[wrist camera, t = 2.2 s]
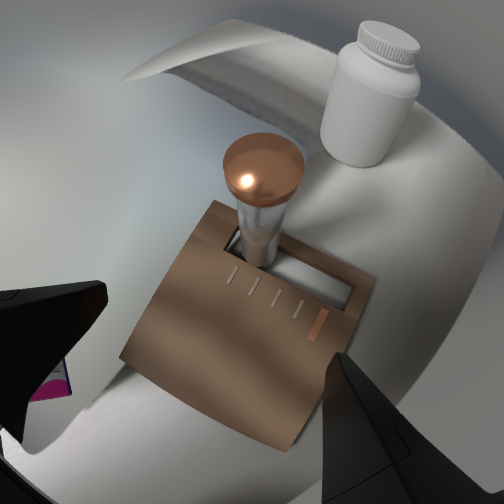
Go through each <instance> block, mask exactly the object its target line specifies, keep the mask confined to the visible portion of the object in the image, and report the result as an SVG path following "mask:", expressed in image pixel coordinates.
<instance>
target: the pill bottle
mask: <svg viewBox="0 0 504 504" xmlns="http://www.w3.org/2000/svg"><path fill="white" fill-rule="evenodd" d="M419 53H420V45H419V44H418V42H417V41H416V40H415V39H414V38H413V37H411V36H410V35H408V34H407V33H405V32H404V31H402V30H400V29H398V28H396V27H393V26H391V25H388V24H385V23H382V22H377V21H364V22H362V23H361V24H360V27H359V31H358V38H357V42H353V43H349V44H347V45H346V46H344V47H343V48H342V49H341V51H340V53H339V54H338V56H337V60H336V65H335V69H334V74H333V78H332V82H331V87H330V91H329V95H328V99H327V104H326V108H325V112H324V116H323V120H322V124H321V130H320V137H321V141H322V143H323V145H324V147H325V149H326V150H327V151H328V152H329V154H330V155H332V156H333V157H334V158H335V159H337V160H338V161H340V162H342V163H344V164H346V165H349V166H352V167H358V168H366V167H371V166H374V165H376V164H377V163H379V162H380V161H381V160H382V158H383V157H384V156H385V154H386V152H387V151H388V149H389V147H390V145H391V144H392V142H393V140H394V138H395V137H396V135H397V133H398V131H399V129H400V128H401V126H402V124H403V122H404V120H405V118H406V116H407V115H408V113H409V111H410V109H411V107H412V105H413V103H414V101H415V99H416V97H417V95H418V93H419V91H420V77H419V74H418V73H417V71H416V69H415V68H414V66H415V62H416V60H417V58H418V55H419Z"/></svg>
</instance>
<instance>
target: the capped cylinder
mask: <svg viewBox="0 0 504 504" xmlns="http://www.w3.org/2000/svg"><path fill="white" fill-rule="evenodd" d="M223 169H224V175H225V180H226V184H227V187H228V189H229V191H230V192H231V193H232V195H233V196H235V197H236V201H237V209H238V218H239V226H240V235H241V243H242V251H243V254H242V258H243V259H244V260H246V261H247V262H248V263H249V264H250V265H252V266H255V267H260V268H262V269H264V270H266V271H267V269H268V267H269V266H270V264H271V263H272V262H273V260H274V259H275V257H276V253H277V249H278V244H279V240H280V236H281V231H282V227H283V222H284V218H285V213H286V208H287V204H288V200H290V199H291V198H292V197H293V196H294V195H295V194H296V192H297V191H298V189H299V187H300V183H301V180H302V176H303V172H304V159H303V156H302V154H301V152H300V151H299V149H298V148H297V147H296V146H295V145H294V144H293V143H292V142H291V141H289V140H287V139H286V138H284V137H282V136H279V135H276V134H272V133H254V134H250V135H246V136H244V137H242V138H240V139H238V140H237V141H235V142H234V143H233V144H232V145H231V146H230V147H229V148H228V150H227V151H226V153H225V156H224V159H223Z"/></svg>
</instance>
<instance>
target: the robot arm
mask: <svg viewBox="0 0 504 504" xmlns="http://www.w3.org/2000/svg"><path fill="white" fill-rule="evenodd" d="M107 303H108V295H107V287H106V284H105V283H104V282H101V281H99V280H95V281H86V282H77V283H70V284H61V285H53V286H44V287H37V288H27V289H21V290H20V289H17V290H7V291H0V431H1V430H2V428H4V429H5V430H6V431H7V432H8V433H9V434H10V435H11V436H12V437H14V438H15V439H16V440H17V441H18V442H19V443H20V444H21V443H22V441H23V434H24V427H25V419H26V413H27V407H28V403H29V401H30V399H31V397H32V396H33V394H34V393H35V392H36V391H37V389H38V388H39V387H40V386H41V385H42V383H43V382H44V381H45V380H46V378H47V377H48V376H49V375H50V374H51V372H52V371H53V370H54V369H55V368H56V366H57V365H58V364H59V363H60V362H61V361H62V359H63V358H64V357H65V356H66V355H67V354H68V352H69V351H70V350H71V349H72V348H73V347H74V346H75V344H76V343H77V342H78V341H79V340H80V339H81V338H82V337H83V336H84V334H85V333H86V332H87V331H88V330H89V329H90V327H91V326H92V325H93V323H94V322H95V321H96V319H97V318H98V317H99V315H100V314H101V312H102V311H103V310H104V308H105V307H106V306H107ZM322 411H323V478H322V504H504V490H501V491H499V492H496V493H493V494H491V493H488V492H486V491H485V490H483V489H482V488H481V487H480V486H479V485H478V484H477V483H475V482H474V481H473V480H472V479H471V478H470V477H468V476H467V475H466V474H465V473H464V472H463V471H462V470H461V469H459V468H458V467H457V466H456V465H455V464H453V462H451V461H450V460H449V459H448V458H447V457H446V456H445V455H444V454H443V453H441V452H440V451H439V450H438V449H437V448H436V447H434V445H432V444H431V443H430V442H429V441H428V440H427V439H426V438H425V437H424V436H423V435H421V433H419V432H418V431H417V430H416V429H415V428H414V427H413V425H412V424H410V422H409V421H408V420H407V419H406V418H405V417H404V416H403V415H402V414H400V412H399V411H398V410H397V409H396V408H395V406H394V405H393V404H392V403H391V402H390V401H389V400H388V399H387V398H386V397H385V396H384V394H383V393H382V392H381V391H380V390H379V389H378V388H377V387H376V386H375V385H374V383H373V382H372V381H371V380H370V379H369V378H368V377H367V376H366V375H365V374H364V372H363V371H362V370H361V369H360V368H359V367H358V366H357V365H356V364H355V363H354V362H353V360H352V359H351V358H350V357H349V356H348V355H347V354H345V353H341V352H336V353H335V354H334V355H333V357H332V359H331V361H330V363H329V364H328V366H327V369H326V374H325V384H324V394H323V404H322ZM0 504H58V503H57V502H56V501H54V500H53V499H52V498H50V497H49V496H47V495H46V494H45V493H44V492H42V491H41V490H40V489H38V488H37V487H36V486H35V485H33V484H32V483H31V482H30V481H29V480H28V479H26V478H25V477H24V476H23V475H22V474H21V473H20V472H18V471H17V470H16V469H15V468H14V467H13V466H12V465H11V464H10V463H9V462H8V461H7V460H6V459H5V458H4V455H3V448H2V441H1V435H0Z"/></svg>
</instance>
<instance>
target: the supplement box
mask: <svg viewBox="0 0 504 504" xmlns="http://www.w3.org/2000/svg"><path fill="white" fill-rule="evenodd" d="M69 395H72V391H71V386H70V382H69V377H68V373H67V368H66V363H65V357H64V358H63V359H62V361H61V362H60V363H59V364H58V365H57V366H56V368H55V369H54V370H53V371H52V372H51V374H50V375H49V376H48V377H47V378H46V380H45V381H44V382H43V383H42V385H41V386H40V387H39V388H38V389H37V391H36V392H35V393H34V394H33V396H32V397H31V399H30V401H29V402H33V401H40V400H46V399H53V398H59V397H64V396H69Z"/></svg>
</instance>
